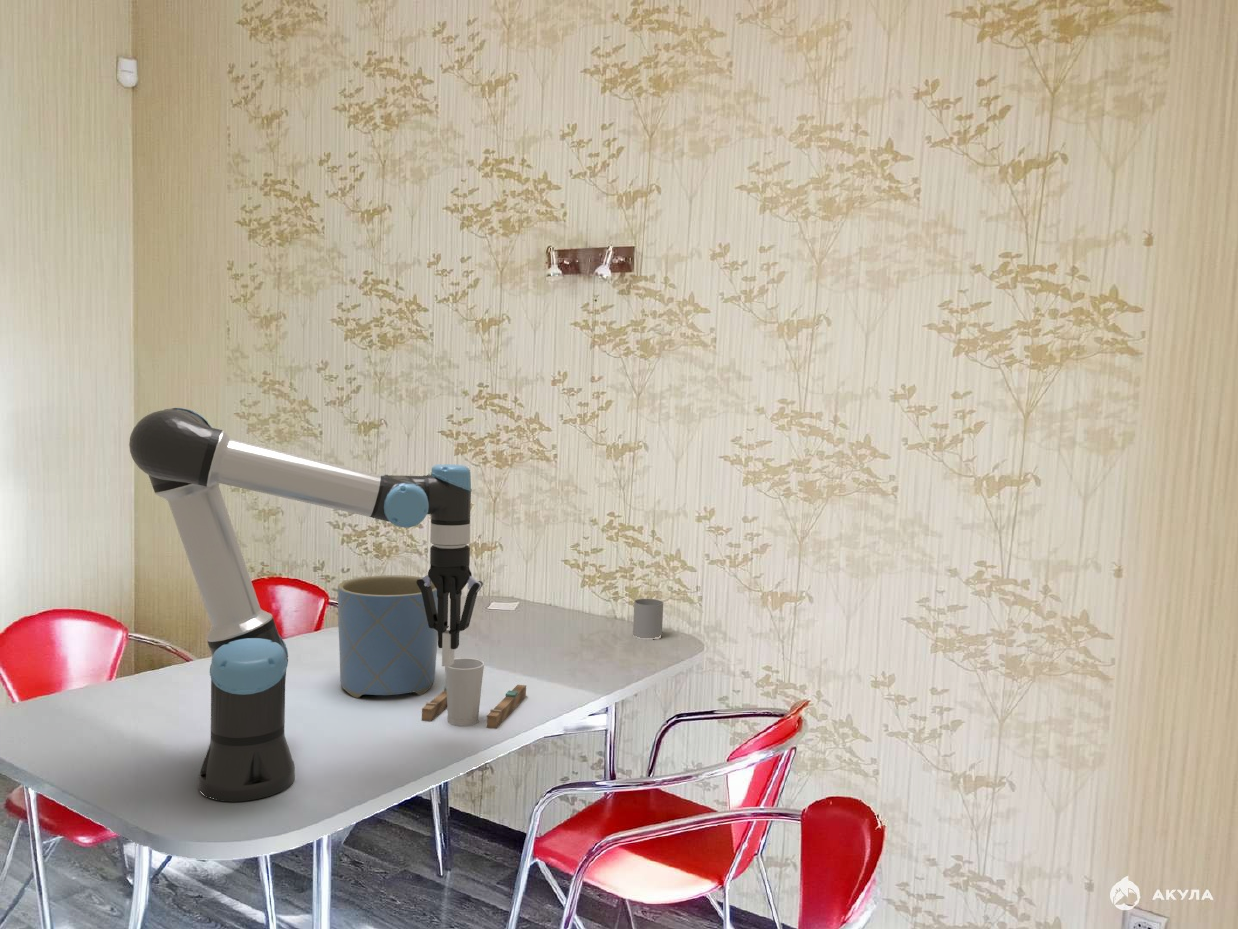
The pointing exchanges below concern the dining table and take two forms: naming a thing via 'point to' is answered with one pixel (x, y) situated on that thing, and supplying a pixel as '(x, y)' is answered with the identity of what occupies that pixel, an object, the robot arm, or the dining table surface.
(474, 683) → the cup
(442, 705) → the channel
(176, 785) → the dining table surface
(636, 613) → the cup
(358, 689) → the planter
